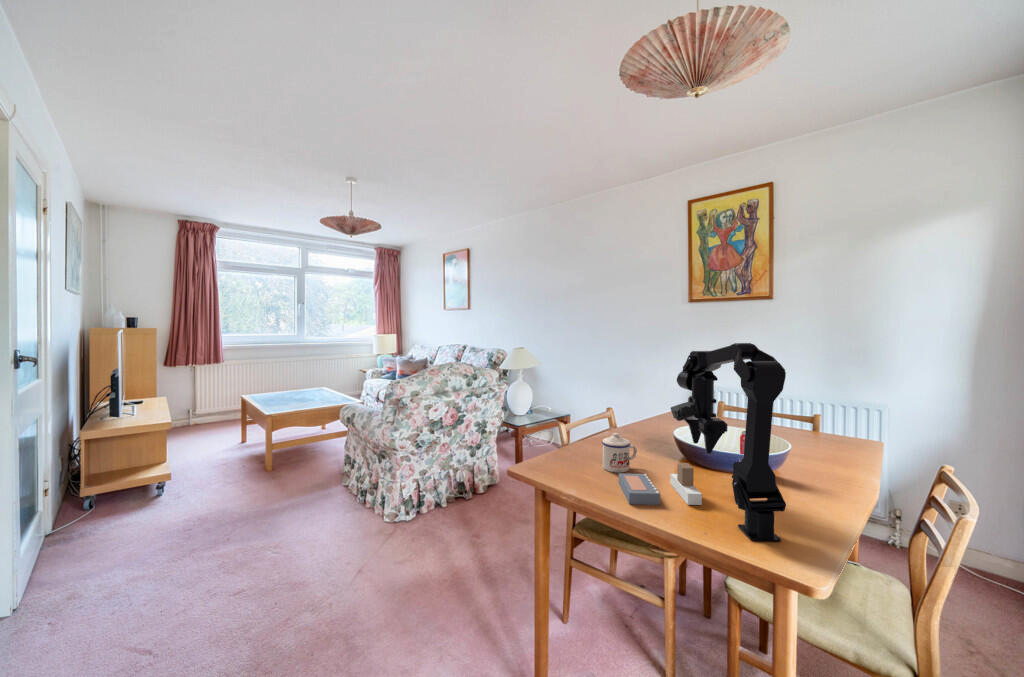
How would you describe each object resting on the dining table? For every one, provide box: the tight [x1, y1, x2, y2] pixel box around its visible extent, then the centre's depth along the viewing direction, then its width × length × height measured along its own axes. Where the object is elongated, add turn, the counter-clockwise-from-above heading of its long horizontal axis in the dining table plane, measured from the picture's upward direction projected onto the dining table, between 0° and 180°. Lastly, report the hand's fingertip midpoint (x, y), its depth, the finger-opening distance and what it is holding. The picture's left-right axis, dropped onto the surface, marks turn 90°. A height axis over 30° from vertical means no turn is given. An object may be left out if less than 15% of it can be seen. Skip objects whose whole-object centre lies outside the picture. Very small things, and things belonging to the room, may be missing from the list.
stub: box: [669, 462, 703, 506], centre depth 114 cm, size 14×4×8 cm, turn 177°
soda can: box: [739, 430, 746, 455], centre depth 129 cm, size 7×7×13 cm
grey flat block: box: [618, 472, 661, 506], centre depth 115 cm, size 14×8×3 cm, turn 177°
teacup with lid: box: [601, 432, 638, 474], centre depth 135 cm, size 12×9×12 cm
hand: (701, 448), depth 117 cm, fingers open, 9 cm apart
